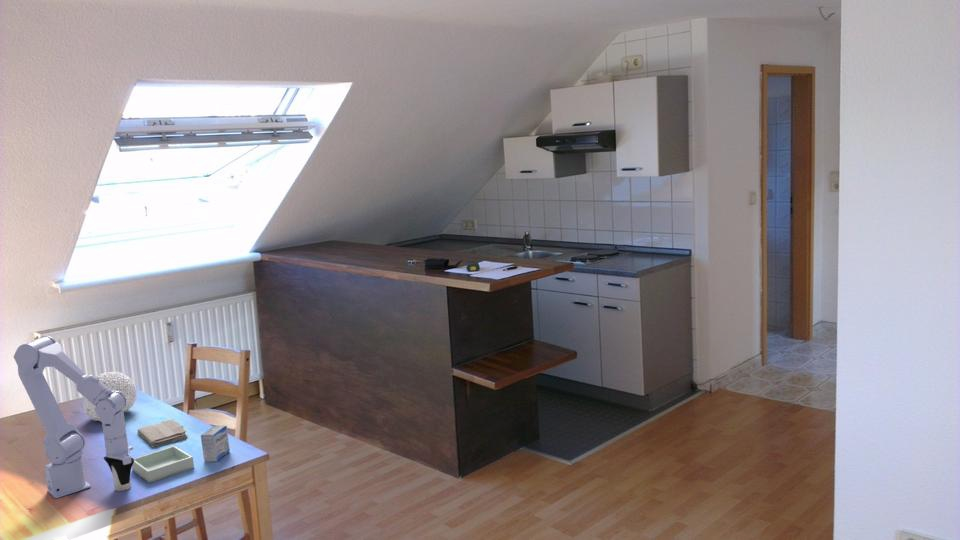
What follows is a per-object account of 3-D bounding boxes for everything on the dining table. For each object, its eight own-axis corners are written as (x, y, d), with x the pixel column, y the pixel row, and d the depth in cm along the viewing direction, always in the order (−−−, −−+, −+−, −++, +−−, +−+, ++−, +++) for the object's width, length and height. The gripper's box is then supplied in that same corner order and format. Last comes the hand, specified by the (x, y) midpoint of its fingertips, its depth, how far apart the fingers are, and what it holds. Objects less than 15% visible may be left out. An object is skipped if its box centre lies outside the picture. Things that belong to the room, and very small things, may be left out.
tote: (149, 483, 227) (147, 471, 226) (132, 470, 237) (130, 459, 236) (194, 467, 236) (192, 456, 235) (176, 456, 245) (174, 445, 245)
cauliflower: (94, 385, 295) (102, 356, 286) (141, 401, 299) (150, 373, 290) (69, 425, 279) (77, 396, 270) (119, 442, 283) (129, 413, 274)
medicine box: (217, 462, 239) (213, 435, 237) (203, 461, 240) (200, 434, 238) (230, 451, 247) (227, 425, 245) (217, 451, 248) (213, 424, 246)
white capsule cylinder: (118, 492, 222) (114, 469, 220) (112, 488, 225) (109, 464, 223) (133, 487, 224) (129, 464, 223) (127, 483, 227) (124, 460, 226)
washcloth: (153, 449, 253) (152, 440, 253) (136, 435, 267) (135, 426, 266) (190, 438, 260) (189, 430, 260) (172, 425, 274) (171, 416, 274)
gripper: (139, 437, 219) (146, 483, 222) (120, 425, 230) (127, 469, 232) (113, 445, 215) (120, 492, 217) (95, 432, 225) (102, 477, 227)
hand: (122, 481), depth 224 cm, fingers closed on white capsule cylinder, 4 cm apart
